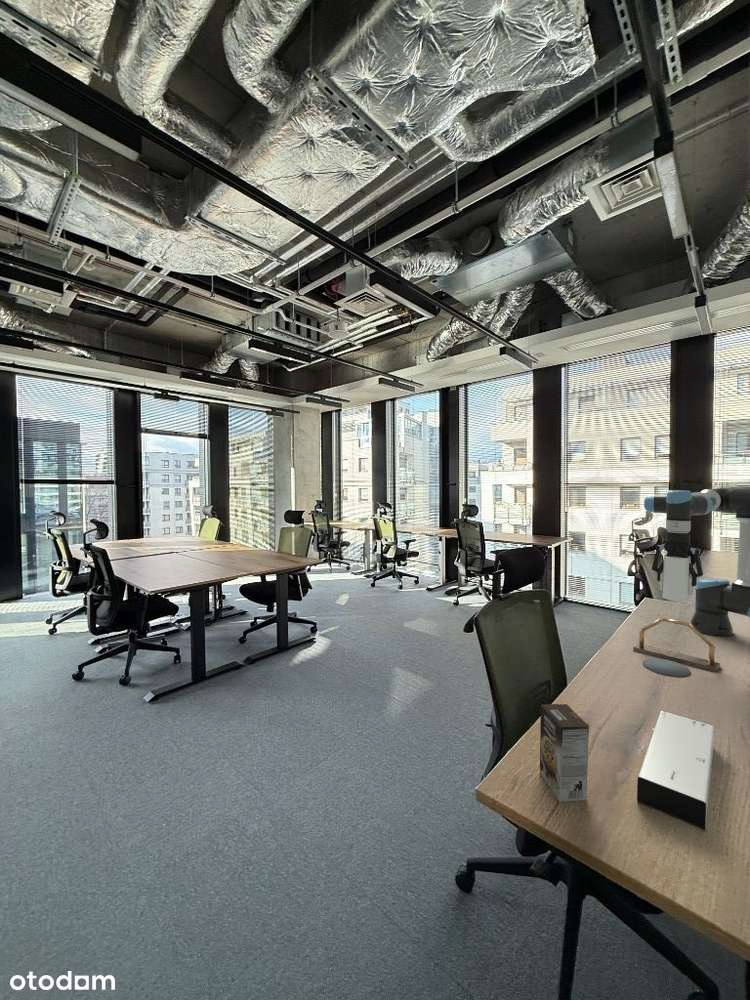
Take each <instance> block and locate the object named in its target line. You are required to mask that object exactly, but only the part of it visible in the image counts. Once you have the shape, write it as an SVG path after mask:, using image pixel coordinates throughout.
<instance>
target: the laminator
mask: <svg viewBox="0 0 750 1000" xmlns="http://www.w3.org/2000/svg"><path fill="white" fill-rule="evenodd" d="M657 718H658V719H656V720H657V721H656V722H655V723H656V724H655V727H652V730H651V731H653V732H652V736H651V739H650V742H649V744H648V746H647V750H646V753H645V756H644V758H643V761H642V764H641V767H640V771H639V773H638V776H637V783H636V785H637V787H636V788H637V789H636V791H637V793H636V802H637V803H639V804H642V805H644V806H647V807H649V808H652V809H653V810H656V811H658V812H661V813H664V814H666V815H669V816H671V817H672V818H675V819H678V820H680V821H683V822H684V823H687V824H689V825H692V826H695V827H697V828H698V829H702V830H703V831H704V832H705V831H706V828H707V821H708V820H707V817H708V807H709V797H710V789H711V788H710V786H711V776H712V768H713V767H712V765H713V755H714V744H715V743H714V737H715V726H714V725H713V724H710V723H707V722H703V721H699V720H697V719H692V718H689V717H687V716H682V715H681V714H675V713H673V712H668V711H666V710H660V713H659V716H658V717H657ZM711 767H712V768H711Z"/></svg>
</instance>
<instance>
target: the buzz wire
mask: <svg viewBox="0 0 750 1000" xmlns="http://www.w3.org/2000/svg"><path fill="white" fill-rule="evenodd" d="M663 622H666V623H671V624H675V625H681V626H686V627H688V628H689V629H690V630H691V631H692V632H693V633H694V634H696V635H697V637H699V638H700V639H701V640H702V641H703V642H705V643H706V644H707V645H708V659H706V658H705V659H704V658H701V657H696V656H691V655H689V654H684V653H679V652H675V651H672V650H669V649H664V648H660V647H655V646H652V645H648V644H645V631H648V630H650V629H651V628H654V627H655V626H657V625H659V624H661V623H663ZM638 632H639V635H638V637H639V638H638V639H639V641H638V643H636V644H635V645H634V646H633V648H632V649H633V652H636V651H637V653H641V654H643V655H644V654H645V655H649V656H653V657H656V658H659V659H665V660H670V661H674V662H677V663H680V664H682V665H687V666H691V667H694V668H700V669H703V670H706V671H711V672H714V673H718V671H719V669H720V668H721V663H720V662H717V661H715V654H716V652H715V650H716V649H715V648H716V646H715V645H714V644H713V643H712V642H711V641H710V640H709V639H708V638H707V637H705V636H704V635H703V633H701V632H699V631H698V630H697V629H695V628H694V627H693V626H692V625H691V624H690V622H688V621H687V622H686V621H681V620H675V619H670V618H666V617H661V618H659V619H657V620H655V621H654V622H651V623H649V624H647V625H646V626H644V627H642V628H640V629H639V631H638Z"/></svg>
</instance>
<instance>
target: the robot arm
mask: <svg viewBox="0 0 750 1000" xmlns="http://www.w3.org/2000/svg"><path fill="white" fill-rule="evenodd" d="M643 508H644V510H645V511H646V512H648V513H654V514H666V517H665V530H666V532H665V543H664V544H662V545H661V544H657V545H655V554H654V558H653V562H652V566H651V570H652V571H653V572H656V573H657V576H656V579H657V581H658V582H659V591H660V592H661V591H662V592H663V569H664V559H663V560H662V562H661V564H660V565H659V562H660V559H661V555H662V551H663V550H665V551H666V552H667V553H666V554H665V555H666V556H667V557H672V556H673V557H675V556H677V557H682V558H689V557H690V556H689V555H688V554H689V553H690V552H691V553H692V555H693V556H694V557H693V558H694V562H695V568H696V570H695V568H694V566H693V563H692V562H691V563H689V572H690V577H689V594H688V595H690V596H692V595H693V593H694V592H693V591H694V589H695V602H694V604H695V607H694V609H695V610H694V613H693V615H692V617H691V619H690V622H689V623H690V624H691V625H692V626H693V627H694V628H695V629H697V630H698V631H699V632H700V633H701V634H706V635H711V636H719V637H729V636H733V634H734V628H733V625H732V623H731V620H730V617H729V613H733V614H737V615H741V616H745V617H748V618H750V486H724V487H717V488H716V487H715V488H709V489H703V490H702V491H700V492H699V491H698V492H697V491H695V492H691V490H669V491H667V494H666V493H665V494H657V493H654V494H647V496H645V498H644V501H643ZM711 512H717V513H723V514H724V513H725V514H734V515H735V519H736V520H737V521H738V522H739V535H738V536H739V537H738V538H739V539H738V554H737V569H736V579H734V580H732V581H731V582H730V580H728V579H725V578H724V579H723V578H700V579H698V578H699V577H702V576H703V575H704V571H703V565H702V561H701V550H702V549H700V548H695V547H692V545H691V533H690V532H691V530H692V529H691V528H692V520H691V519H692V516H704V515H707V514H710V513H711ZM694 587H695V588H694Z"/></svg>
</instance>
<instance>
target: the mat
mask: <svg viewBox="0 0 750 1000" xmlns="http://www.w3.org/2000/svg"><path fill="white" fill-rule="evenodd" d="M642 665H643V667H645V668H646V669H647V670H649V671H651V672H654V673H656V674H660V675H663V676H668V677H678V678H679V677H680V678H682V677H688V676H690V675H691V670H690V668H688V667H687V666H686V665H685V664H683V663H679V662H675V661H671V660H667V659H663V658H659V657H656V658H654V657H650V658H649V657H648V658H646V659H643V660H642Z"/></svg>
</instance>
